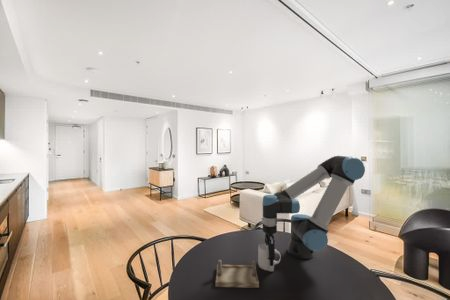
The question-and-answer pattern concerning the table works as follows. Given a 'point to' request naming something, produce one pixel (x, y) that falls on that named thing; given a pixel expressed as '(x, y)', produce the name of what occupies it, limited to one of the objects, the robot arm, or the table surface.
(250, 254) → the table surface
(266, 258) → the mug
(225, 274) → the tray
